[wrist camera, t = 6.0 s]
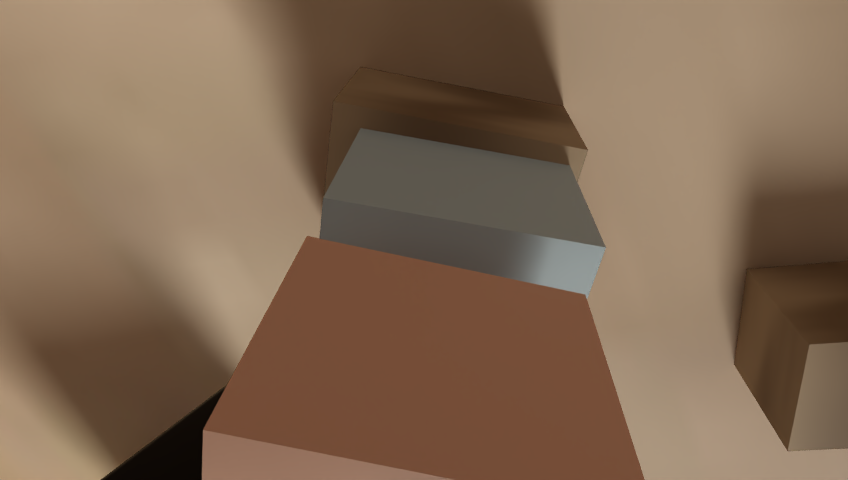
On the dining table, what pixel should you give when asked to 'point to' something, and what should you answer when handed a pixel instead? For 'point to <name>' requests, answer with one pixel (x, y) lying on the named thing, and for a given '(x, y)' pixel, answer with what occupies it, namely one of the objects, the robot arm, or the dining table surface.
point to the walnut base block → (450, 119)
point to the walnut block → (798, 351)
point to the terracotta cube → (418, 379)
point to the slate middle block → (464, 210)
